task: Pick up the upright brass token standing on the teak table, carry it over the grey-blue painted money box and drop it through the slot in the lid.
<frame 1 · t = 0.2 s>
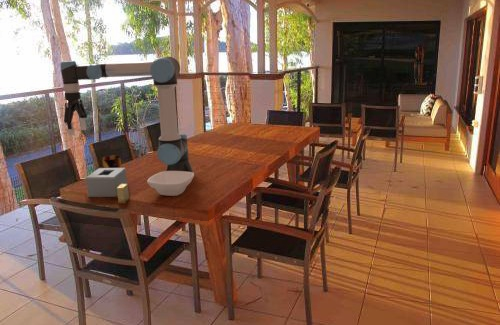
hand: (77, 132, 231), 28 cm above the table, fingers open, 13 cm apart
mug: (116, 179, 244), on the table
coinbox: (108, 191, 223), on the table
bowl: (172, 193, 216), on the table
token: (123, 200, 208), on the table
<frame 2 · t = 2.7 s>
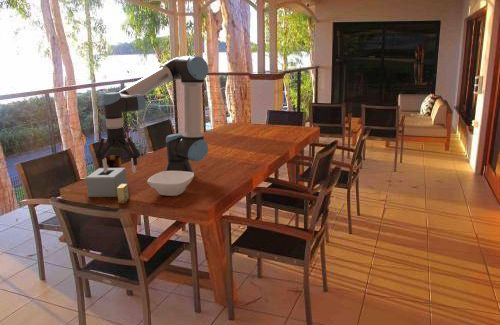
hand: (120, 172, 205), 14 cm above the table, fingers open, 13 cm apart
nothing on the table moved.
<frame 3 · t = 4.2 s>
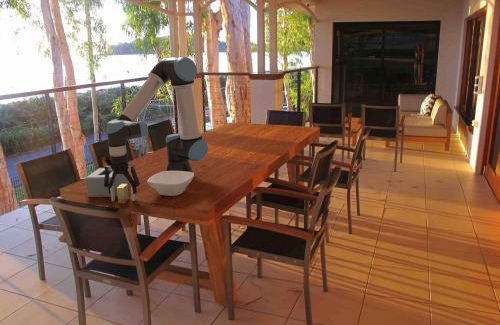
hand: (123, 200, 208), 0 cm above the table, fingers open, 9 cm apart
nothing on the table moved.
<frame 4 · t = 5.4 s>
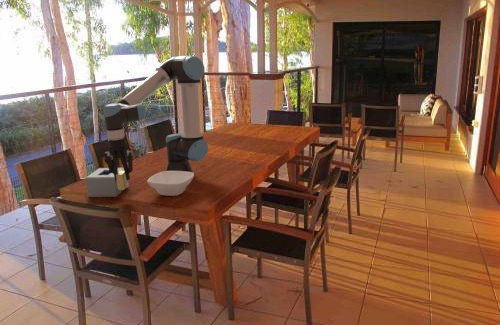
hand: (123, 186, 207), 7 cm above the table, fingers closed on token, 3 cm apart
token: (123, 187, 207), point 6 cm above the table, touching gripper
everything else where it was.
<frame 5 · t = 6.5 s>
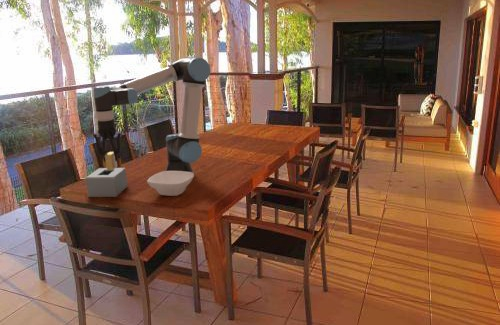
hand: (112, 167, 213), 14 cm above the table, fingers closed on token, 3 cm apart
token: (112, 168, 213), point 14 cm above the table, touching gripper
everything else where it was.
when the fingers open (11 cm above the table, at t = 7.7 s): token drops 9 cm and tips over, resting on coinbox.
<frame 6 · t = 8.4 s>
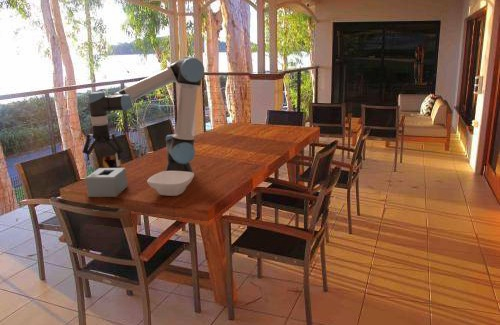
hand: (105, 166, 219), 13 cm above the table, fingers open, 13 cm apart
token: (107, 188, 223), point 2 cm above the table, tilted 39°, touching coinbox
everything else where it was.
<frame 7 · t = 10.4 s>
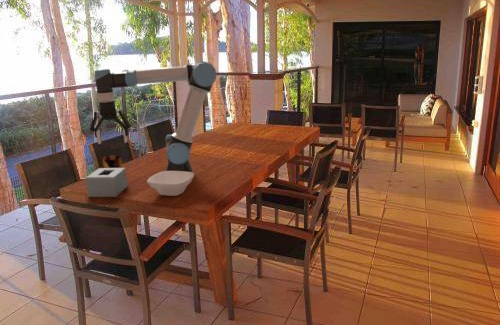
hand: (113, 142, 223), 24 cm above the table, fingers open, 13 cm apart
nothing on the table moved.
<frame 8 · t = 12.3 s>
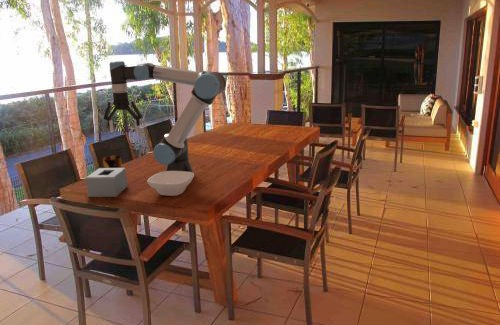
hand: (124, 132, 233), 27 cm above the table, fingers open, 13 cm apart
nothing on the table moved.
at the end: token inside the target area on the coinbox (0.3 cm from its centre), point 1.5 cm above the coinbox's base; the gripper is holding nothing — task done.
